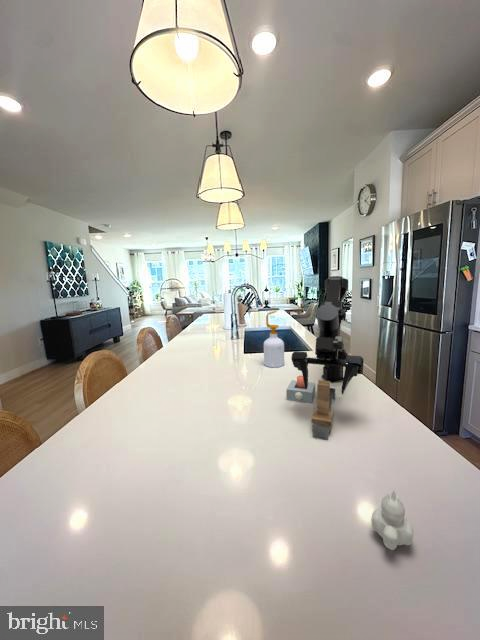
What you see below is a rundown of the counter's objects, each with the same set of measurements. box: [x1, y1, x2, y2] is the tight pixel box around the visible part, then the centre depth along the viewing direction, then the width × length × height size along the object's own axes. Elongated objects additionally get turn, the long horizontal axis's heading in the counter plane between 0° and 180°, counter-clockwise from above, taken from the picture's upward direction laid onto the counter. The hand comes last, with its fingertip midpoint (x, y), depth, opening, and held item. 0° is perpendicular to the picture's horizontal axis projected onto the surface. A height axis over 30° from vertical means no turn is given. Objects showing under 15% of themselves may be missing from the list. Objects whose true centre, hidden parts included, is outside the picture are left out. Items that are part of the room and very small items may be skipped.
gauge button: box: [296, 375, 305, 389], centre depth 88 cm, size 3×3×4 cm
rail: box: [312, 387, 336, 441], centre depth 76 cm, size 24×4×3 cm, turn 156°
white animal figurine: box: [371, 489, 414, 551], centre depth 40 cm, size 5×7×8 cm
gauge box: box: [285, 379, 316, 404], centre depth 88 cm, size 8×8×4 cm
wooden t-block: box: [311, 380, 334, 432], centre depth 69 cm, size 5×5×11 cm
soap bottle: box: [263, 309, 285, 368], centre depth 118 cm, size 9×9×25 cm
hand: (323, 391), depth 70 cm, fingers open, 9 cm apart
